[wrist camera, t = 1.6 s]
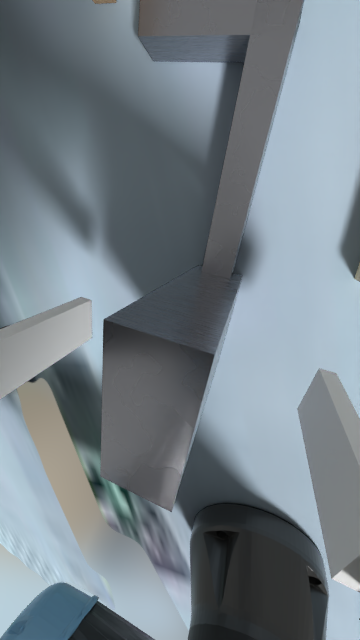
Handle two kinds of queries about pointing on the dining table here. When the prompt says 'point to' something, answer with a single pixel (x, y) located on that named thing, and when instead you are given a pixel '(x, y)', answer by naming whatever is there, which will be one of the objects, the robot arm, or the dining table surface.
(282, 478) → the dining table surface
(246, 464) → the dining table surface
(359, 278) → the plain stick
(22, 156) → the dining table surface
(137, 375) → the hook tool
